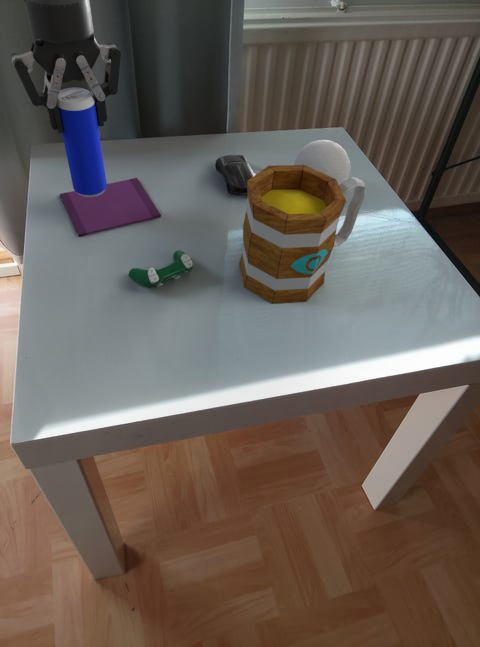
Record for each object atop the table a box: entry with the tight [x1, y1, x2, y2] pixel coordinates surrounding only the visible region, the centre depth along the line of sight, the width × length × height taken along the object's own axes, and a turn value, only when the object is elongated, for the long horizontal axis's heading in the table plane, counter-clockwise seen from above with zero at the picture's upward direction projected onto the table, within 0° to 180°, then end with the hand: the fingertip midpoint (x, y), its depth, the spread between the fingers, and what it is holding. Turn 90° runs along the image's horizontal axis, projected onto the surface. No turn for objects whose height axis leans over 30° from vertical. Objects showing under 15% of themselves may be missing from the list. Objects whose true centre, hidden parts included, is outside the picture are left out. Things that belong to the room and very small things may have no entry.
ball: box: [293, 139, 351, 185], centre depth 90 cm, size 10×10×10 cm
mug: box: [238, 164, 366, 304], centre depth 74 cm, size 20×14×15 cm
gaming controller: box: [127, 249, 194, 289], centre depth 75 cm, size 9×4×6 cm
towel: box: [59, 177, 162, 237], centre depth 86 cm, size 14×12×1 cm
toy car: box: [214, 154, 257, 195], centre depth 93 cm, size 6×12×4 cm, turn 19°
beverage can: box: [56, 87, 108, 197], centre depth 74 cm, size 5×5×15 cm
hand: (79, 126), depth 72 cm, fingers closed on beverage can, 5 cm apart
